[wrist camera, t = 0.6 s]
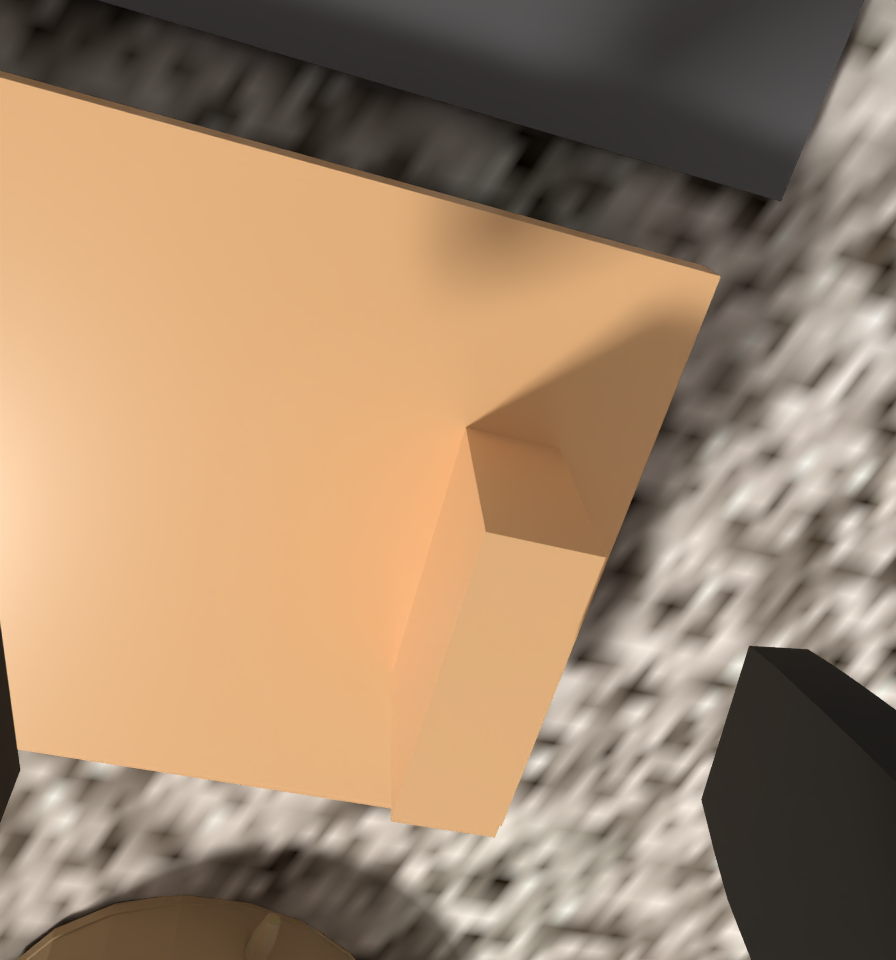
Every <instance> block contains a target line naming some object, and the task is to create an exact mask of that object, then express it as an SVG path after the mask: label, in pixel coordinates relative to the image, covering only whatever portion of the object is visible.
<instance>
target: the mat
mask: <svg viewBox="0 0 896 960" xmlns="http://www.w3.org/2000/svg"><path fill="white" fill-rule="evenodd" d="M99 1H102V2H106V3H109V4H112V5H116V6H119V7H123V8H126V9H129V10H133V11H136V12H140V13H143V14H146V15H150V16H153V17H157V18H160V19H163V20H167V21H170V22H173V23H177V24H180V25H184V26H187V27H190V28H194V29H197V30H201V31H204V32H207V33H211V34H214V35H218V36H221V37H224V38H228V39H231V40H235V41H238V42H241V43H245V44H248V45H252V46H255V47H258V48H262V49H265V50H268V51H272V52H275V53H279V54H282V55H285V56H289V57H292V58H296V59H299V60H302V61H306V62H309V63H313V64H316V65H319V66H323V67H326V68H330V69H333V70H336V71H340V72H343V73H347V74H350V75H353V76H357V77H360V78H363V79H367V80H370V81H374V82H377V83H380V84H384V85H387V86H391V87H394V88H397V89H401V90H404V91H408V92H411V93H414V94H418V95H421V96H425V97H428V98H431V99H435V100H438V101H441V102H445V103H448V104H452V105H455V106H458V107H462V108H465V109H469V110H472V111H475V112H479V113H482V114H486V115H489V116H492V117H496V118H499V119H503V120H506V121H509V122H513V123H516V124H520V125H523V126H526V127H530V128H533V129H536V130H540V131H543V132H547V133H550V134H553V135H557V136H560V137H564V138H567V139H570V140H574V141H577V142H581V143H584V144H587V145H591V146H594V147H598V148H601V149H604V150H608V151H611V152H615V153H618V154H621V155H625V156H628V157H631V158H635V159H638V160H642V161H645V162H648V163H652V164H655V165H659V166H662V167H665V168H669V169H672V170H676V171H679V172H682V173H686V174H689V175H693V176H696V177H699V178H703V179H706V180H709V181H713V182H716V183H720V184H723V185H726V186H730V187H733V188H737V189H740V190H743V191H747V192H750V193H754V194H757V195H760V196H764V197H767V198H771V199H774V200H777V201H781V200H782V197H783V195H784V192H785V190H786V188H787V185H788V183H789V180H790V178H791V176H792V173H793V171H794V168H795V166H796V163H797V161H798V159H799V156H800V154H801V151H802V149H803V146H804V144H805V142H806V139H807V137H808V134H809V132H810V130H811V127H812V125H813V122H814V120H815V117H816V115H817V113H818V110H819V108H820V105H821V103H822V100H823V98H824V96H825V93H826V91H827V88H828V86H829V84H830V81H831V79H832V76H833V74H834V71H835V69H836V67H837V64H838V62H839V59H840V57H841V54H842V52H843V50H844V47H845V45H846V42H847V40H848V38H849V35H850V33H851V30H852V28H853V25H854V23H855V21H856V18H857V16H858V13H859V11H860V8H861V6H862V4H863V1H864V0H99Z"/></svg>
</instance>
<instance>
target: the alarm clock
mask: <svg viewBox="0 0 896 960" xmlns="http://www.w3.org/2000/svg"><path fill="white" fill-rule="evenodd" d="M17 960H356V959H355V958H354V956H353V955H352V954H351V953H349V952H348V951H346V950H345V949H344V948H342V947H341V946H339V945H338V944H336V943H335V942H334V941H332V940H331V939H329V938H328V937H326V936H325V935H324V934H322V933H321V932H319V931H318V930H316V929H315V928H314V927H312V926H311V925H309V924H307V923H305V922H302V921H299V920H296V919H293V918H291V917H288V916H285V915H282V914H279V913H277V912H274V911H271V910H268V909H266V908H263V907H260V906H257V905H254V904H252V903H247V902H239V901H230V900H222V899H214V898H205V897H197V896H189V895H176V896H165V897H155V898H149V899H142V900H136V901H129V902H123V903H116V904H113V905H111V906H108V907H106V908H104V909H101V910H99V911H96V912H94V913H91V914H89V915H87V916H84V917H82V918H79V919H77V920H74V921H72V922H70V923H67V924H65V925H62V926H60V927H58V928H55V929H54V930H53V931H52V932H50V933H49V934H48V935H47V936H45V937H44V938H43V939H42V940H40V941H39V942H38V943H37V944H35V945H34V946H33V947H32V948H30V949H29V950H28V951H27V952H25V953H24V954H23V955H22V956H20V957H19V958H18V959H17Z"/></svg>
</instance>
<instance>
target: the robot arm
mask: <svg viewBox="0 0 896 960" xmlns="http://www.w3.org/2000/svg"><path fill="white" fill-rule="evenodd" d="M19 772H20V764H19V757H18V749H17V742H16V735H15V727H14V720H13V712H12V705H11V698H10V690H9V683H8V675H7V668H6V661H5V653H4V646H3V638H2V631H1V624H0V822H1V819H2V816H3V814H4V811H5V809H6V806H7V803H8V801H9V798H10V796H11V793H12V790H13V788H14V785H15V782H16V780H17V777H18V775H19ZM701 800H702V804H703V808H704V812H705V816H706V820H707V824H708V828H709V832H710V836H711V840H712V844H713V848H714V852H715V856H716V860H717V863H718V867H719V870H720V874H721V877H722V881H723V885H724V888H725V892H726V895H727V899H728V901H729V904H730V907H731V909H732V912H733V914H734V917H735V920H736V922H737V925H738V928H739V930H740V933H741V935H742V938H743V940H744V943H745V945H746V948H747V950H748V953H749V955H750V958H751V960H896V710H895V709H894V708H892V707H891V706H890V705H888V704H887V703H886V702H884V701H883V700H881V699H880V698H879V697H877V696H876V695H875V694H873V693H872V692H870V691H869V690H868V689H866V688H865V687H863V686H862V685H861V684H859V683H858V682H856V681H855V680H854V679H852V678H851V677H849V676H848V675H846V674H845V673H844V672H842V671H841V670H839V669H838V668H836V667H835V666H833V665H832V664H830V663H829V662H827V661H826V660H824V659H822V658H821V657H819V656H818V655H816V654H814V653H813V652H811V651H810V650H808V649H792V648H776V647H759V646H749V648H748V651H747V655H746V658H745V661H744V664H743V667H742V671H741V674H740V677H739V680H738V683H737V687H736V690H735V693H734V696H733V700H732V703H731V706H730V709H729V712H728V716H727V719H726V722H725V725H724V729H723V732H722V735H721V738H720V741H719V745H718V748H717V751H716V754H715V758H714V761H713V764H712V767H711V770H710V774H709V777H708V780H707V783H706V787H705V790H704V793H703V796H702V799H701Z"/></svg>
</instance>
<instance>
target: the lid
mask: <svg viewBox="0 0 896 960" xmlns="http://www.w3.org/2000/svg"><path fill="white" fill-rule="evenodd" d="M720 278H721V276H719V275H718V274H716V273H715V272H713V271H712V270H710V269H708V268H707V267H705V266H703V265H699V264H696V263H692V262H689V261H685V260H681V259H678V258H674V257H671V256H667V255H663V254H660V253H656V252H653V251H649V250H645V249H642V248H638V247H635V246H631V245H627V244H624V243H620V242H616V241H613V240H609V239H606V238H602V237H598V236H595V235H591V234H588V233H584V232H580V231H577V230H573V229H570V228H566V227H562V226H559V225H555V224H552V223H548V222H544V221H541V220H537V219H534V218H530V217H526V216H523V215H519V214H516V213H512V212H508V211H505V210H501V209H497V208H494V207H490V206H487V205H483V204H479V203H476V202H472V201H469V200H465V199H461V198H458V197H454V196H451V195H447V194H443V193H440V192H436V191H433V190H429V189H425V188H422V187H418V186H415V185H411V184H407V183H404V182H400V181H397V180H393V179H389V178H386V177H382V176H378V175H375V174H371V173H368V172H364V171H360V170H357V169H353V168H350V167H346V166H342V165H339V164H335V163H332V162H328V161H324V160H321V159H317V158H314V157H310V156H306V155H303V154H299V153H296V152H292V151H288V150H285V149H281V148H277V147H274V146H270V145H267V144H263V143H259V142H256V141H252V140H249V139H245V138H241V137H238V136H234V135H231V134H227V133H223V132H220V131H216V130H213V129H209V128H205V127H202V126H198V125H195V124H191V123H187V122H184V121H180V120H177V119H173V118H169V117H166V116H162V115H158V114H155V113H151V112H148V111H144V110H140V109H137V108H133V107H130V106H126V105H122V104H119V103H115V102H112V101H108V100H104V99H101V98H97V97H94V96H90V95H86V94H83V93H79V92H76V91H72V90H68V89H65V88H61V87H58V86H54V85H50V84H47V83H43V82H39V81H36V80H32V79H29V78H25V77H21V76H18V75H14V74H11V73H7V72H3V71H0V624H1V631H2V638H3V646H4V653H5V661H6V668H7V675H8V683H9V690H10V698H11V705H12V712H13V720H14V727H15V735H16V742H17V749H18V750H25V751H31V752H37V753H44V754H50V755H56V756H63V757H69V758H75V759H82V760H88V761H94V762H101V763H107V764H113V765H120V766H126V767H132V768H139V769H145V770H151V771H158V772H164V773H170V774H177V775H183V776H189V777H196V778H202V779H208V780H215V781H221V782H227V783H233V784H240V785H246V786H252V787H259V788H265V789H271V790H278V791H284V792H290V793H297V794H303V795H309V796H316V797H322V798H328V799H335V800H341V801H347V802H354V803H360V804H366V805H373V806H379V807H385V808H391V821H392V822H399V823H405V824H412V825H418V826H425V827H431V828H437V829H444V830H450V831H457V832H463V833H469V834H476V835H482V836H489V837H495V836H496V833H497V831H498V828H499V826H502V824H503V821H504V819H505V816H506V814H507V811H508V809H509V806H510V804H511V801H512V798H513V796H514V793H515V791H516V788H517V786H518V783H519V781H520V778H521V776H522V773H523V771H524V768H525V766H526V763H527V761H528V758H529V756H530V753H531V751H532V748H533V746H534V743H535V741H536V738H537V736H538V733H539V731H540V728H541V726H542V723H543V721H544V718H545V716H546V713H547V711H548V708H549V706H550V703H551V701H552V698H553V696H554V693H555V691H556V688H557V686H558V683H559V681H560V678H561V676H562V673H563V671H564V668H565V666H566V663H567V661H568V658H569V656H570V653H571V651H572V648H573V646H574V643H575V641H576V638H577V636H578V633H579V631H580V628H581V626H582V623H583V621H584V618H585V616H586V613H587V611H588V608H589V606H590V603H591V601H592V598H593V596H594V593H595V591H596V588H597V586H598V583H599V581H600V578H601V576H602V573H603V571H604V568H605V566H606V563H607V561H608V558H609V556H610V553H611V551H612V548H613V546H614V543H615V541H616V538H617V536H618V533H619V531H620V528H621V526H622V523H623V520H624V518H625V515H626V513H627V510H628V508H629V505H630V503H631V500H632V498H633V495H634V493H635V490H636V488H637V485H638V483H639V480H640V478H641V475H642V473H643V470H644V468H645V465H646V463H647V460H648V458H649V455H650V453H651V450H652V448H653V445H654V443H655V440H656V438H657V435H658V433H659V430H660V428H661V425H662V423H663V420H664V418H665V415H666V413H667V410H668V408H669V405H670V403H671V400H672V398H673V395H674V393H675V390H676V388H677V385H678V383H679V380H680V378H681V375H682V373H683V370H684V368H685V365H686V363H687V360H688V358H689V355H690V353H691V350H692V348H693V345H694V343H695V340H696V338H697V335H698V333H699V330H700V328H701V325H702V323H703V320H704V318H705V315H706V313H707V310H708V308H709V305H710V303H711V300H712V298H713V295H714V293H715V290H716V288H717V285H718V283H719V280H720Z"/></svg>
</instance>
